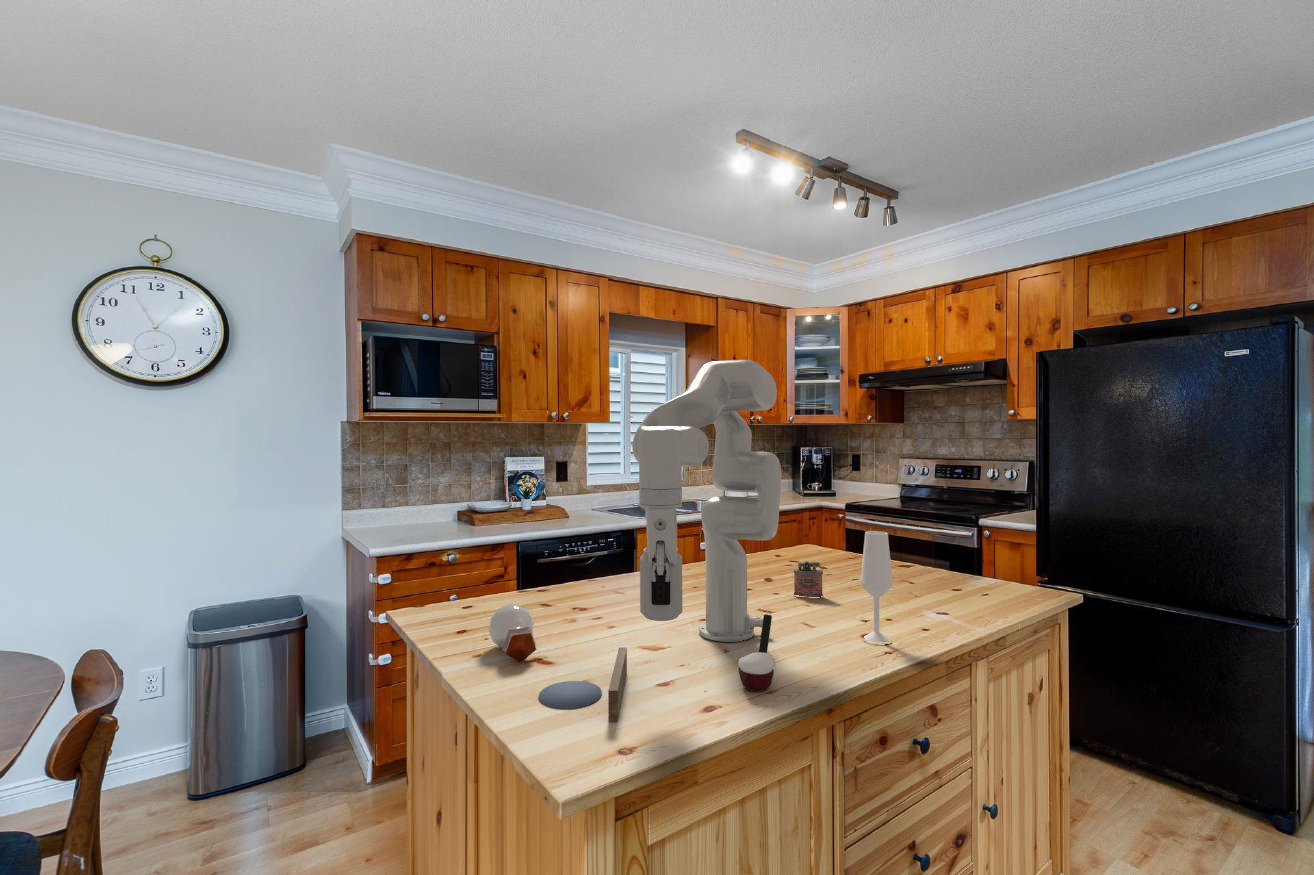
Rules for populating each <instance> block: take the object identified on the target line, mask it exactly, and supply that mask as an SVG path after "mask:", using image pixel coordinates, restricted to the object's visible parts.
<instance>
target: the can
mask: <svg viewBox="0 0 1314 875" xmlns="http://www.w3.org/2000/svg"><path fill="white" fill-rule="evenodd" d="M664 551H665V546H664ZM652 562H653V558H652ZM655 563H657V559H655ZM664 563H667V555H666V559H664ZM652 564H653V563H652ZM656 568H657V567H656ZM664 568H665V569H666V567H664ZM665 576H666V575H665ZM651 581H653V565H650V564H649V559H648V548H647V547H645V548H643V553H642V555H641V556H640V557H639V598H640V599H639V604H640V606H639V609H640V610H639V612H640V613H641V614H642V615H643V616H644V617H645V619H647V620H650V621H656V622H664V621H665V622H667V621H669V622H670V621H672V620H673V621H674V620H675V619H677V618H678V617H679V616H680V615H681V614H682V613H683V557H682V555H681V554H680V553H679V548H678V547H677V564H676V565H675V566H673V563H671V564H670V563H669V581H670V605H652V599H651Z"/></svg>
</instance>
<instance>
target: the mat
mask: <svg viewBox="0 0 1314 875" xmlns="http://www.w3.org/2000/svg"><path fill="white" fill-rule="evenodd" d="M602 692H603V691H602V688H600V686H598V685H597V684H595V683H593V682H588V681H582V680H566V681H560V682H556V683H552V684H549V685H548V686H546V687H544V688H542V689H541V691H539V694H538V700H539V701H541V702H542V703H541V704H543V705H544V706H546V705H547V707H549V708H553V707H554V709H564V710H566V709H567V710H570V709H578V708H583V707H587V706H590V705H592V704H594V703H596V702H598V701H599V700H600V698H601V697H602V695H603V693H602Z"/></svg>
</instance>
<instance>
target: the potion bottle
mask: <svg viewBox="0 0 1314 875" xmlns="http://www.w3.org/2000/svg"><path fill="white" fill-rule="evenodd" d="M532 617H533V616H532V615H531V611H530V610H528V609H526V608H524V607H523V606H521V605H519V604H514V603H507V604H506V605H503V606H501V607H499V608H497V610H496V611H495V612H494V613H493V615H492V616H491V617H490V619H489V624H488V632H489V633H488V634H489V635H490V638H491V642H493V644H495V645H496V646H498V647H499V648H501V651H503V652H504V653H505V656H508V657H510V658H511V659H514V660H515V661H517V662H519V663H520V662H521V663H523V662H524V661H525V660H526V659H527V658H528V657H530V655H532V654H533V653H534V652H535V651H537V647H536V646H537V643H536V641H535V638H534V635H533V634H534V633H533V632H534V620H533V618H532Z"/></svg>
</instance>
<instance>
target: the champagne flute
mask: <svg viewBox="0 0 1314 875" xmlns="http://www.w3.org/2000/svg"><path fill="white" fill-rule="evenodd" d="M863 542H864V543H863V552H862V553H863V554H862V562H861V572H860V573H861V574H860V584H861V585H862V587H863V588H864V590H865V591H866V592H867V593H868V594H869V595H870V596H872V597H873V631H872V632H869V633H868V634H866V635H864V638H865V639H866V640H870V641H872V642H889V640H891V639H890V638H889V637H887V636H886V635H884V633H881V631H880V598H881V597H883V596H884V595H885V594H886V593H887V592H889V590H890V589H891V588H892V586H893V584H894V583H893V574H892V562H891V553H890V552H891V551H890V543H889V542H890V541H889V533H888V532H886V531H880V530H876V531H875V530H869V531H865V533H864V541H863Z"/></svg>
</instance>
